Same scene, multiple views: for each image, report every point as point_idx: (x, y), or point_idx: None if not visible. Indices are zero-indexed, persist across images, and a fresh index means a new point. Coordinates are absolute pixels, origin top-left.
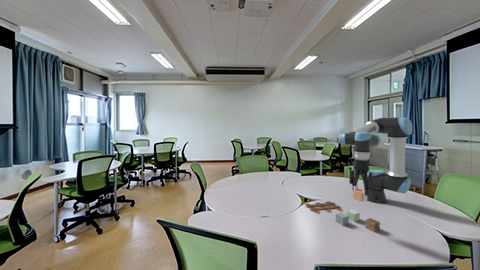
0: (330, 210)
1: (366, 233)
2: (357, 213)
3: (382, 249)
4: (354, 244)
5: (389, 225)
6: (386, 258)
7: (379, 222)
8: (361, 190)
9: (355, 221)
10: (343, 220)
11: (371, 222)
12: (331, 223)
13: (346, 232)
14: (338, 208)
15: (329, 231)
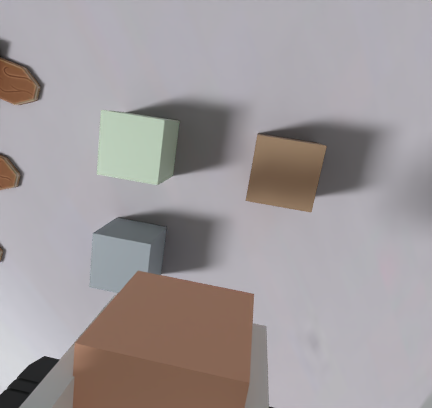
0: (4, 163)
1: (281, 248)
2: (161, 148)
3: (394, 332)
4: (288, 390)
5: (337, 6)
6: (428, 386)
7: (324, 152)
8: (152, 401)
9: (174, 161)
10: None
11: (289, 207)
12: None
13: None
14: (5, 80)
15: None
